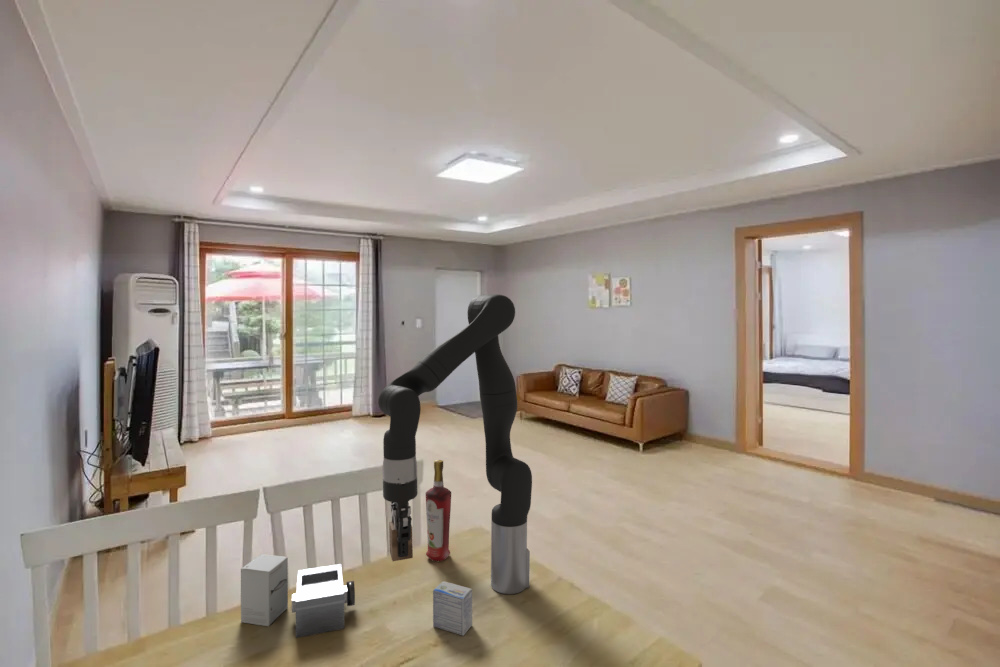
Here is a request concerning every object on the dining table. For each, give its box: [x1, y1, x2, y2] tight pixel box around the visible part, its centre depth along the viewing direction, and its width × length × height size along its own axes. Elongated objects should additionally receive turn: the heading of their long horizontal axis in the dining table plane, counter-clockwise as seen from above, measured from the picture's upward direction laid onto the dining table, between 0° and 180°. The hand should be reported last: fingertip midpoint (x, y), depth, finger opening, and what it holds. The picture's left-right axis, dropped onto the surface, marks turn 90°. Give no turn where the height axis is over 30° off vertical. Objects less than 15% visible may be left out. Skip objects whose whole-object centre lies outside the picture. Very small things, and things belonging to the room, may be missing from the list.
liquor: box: [425, 459, 452, 562], centre depth 145 cm, size 7×7×28 cm
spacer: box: [388, 521, 414, 562], centre depth 113 cm, size 4×4×7 cm
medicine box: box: [432, 580, 473, 636], centre depth 114 cm, size 8×4×9 cm, turn 65°
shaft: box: [291, 580, 356, 613], centre depth 118 cm, size 14×5×5 cm, turn 110°
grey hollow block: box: [295, 563, 345, 639], centre depth 118 cm, size 10×14×8 cm
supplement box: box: [240, 553, 289, 627], centre depth 117 cm, size 7×7×13 cm
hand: (401, 550), depth 114 cm, fingers closed on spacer, 4 cm apart
